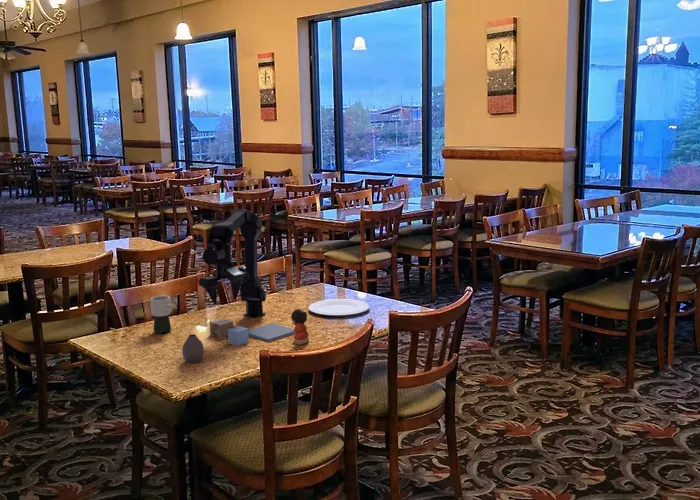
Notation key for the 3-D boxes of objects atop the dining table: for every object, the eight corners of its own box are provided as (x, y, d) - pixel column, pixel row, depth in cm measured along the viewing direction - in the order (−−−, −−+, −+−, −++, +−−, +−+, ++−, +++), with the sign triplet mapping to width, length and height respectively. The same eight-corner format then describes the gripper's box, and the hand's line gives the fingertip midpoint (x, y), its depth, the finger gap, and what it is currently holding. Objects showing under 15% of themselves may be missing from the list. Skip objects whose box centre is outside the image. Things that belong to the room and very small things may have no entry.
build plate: (243, 334, 258) (243, 331, 258) (272, 325, 268) (271, 323, 268) (268, 341, 249) (268, 339, 249) (297, 332, 259) (297, 330, 259)
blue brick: (228, 342, 249) (228, 329, 248) (239, 339, 253) (239, 325, 252) (237, 345, 246) (237, 331, 245) (248, 342, 249) (248, 328, 248)
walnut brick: (210, 335, 258) (209, 322, 257) (223, 331, 263) (222, 318, 262) (220, 338, 254) (219, 325, 253) (233, 334, 259) (233, 321, 258)
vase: (184, 358, 234) (183, 332, 232) (205, 357, 234) (204, 331, 233) (181, 365, 227) (179, 339, 225) (203, 364, 227) (201, 338, 226)
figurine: (312, 340, 250) (311, 307, 248) (306, 345, 245) (305, 311, 242) (295, 339, 252) (294, 306, 250) (289, 343, 247) (288, 310, 244)
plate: (380, 307, 292) (380, 303, 292) (348, 322, 272) (348, 318, 271) (330, 300, 306) (330, 295, 305) (295, 314, 285) (295, 309, 284)
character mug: (180, 331, 263) (178, 297, 261) (165, 336, 257) (163, 301, 255) (159, 327, 269) (157, 293, 266) (145, 332, 263) (142, 298, 261)
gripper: (217, 266, 241) (219, 310, 244) (257, 257, 255) (259, 299, 258) (196, 262, 249) (199, 305, 251) (237, 254, 263) (239, 295, 265)
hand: (225, 301), depth 256 cm, fingers open, 9 cm apart
